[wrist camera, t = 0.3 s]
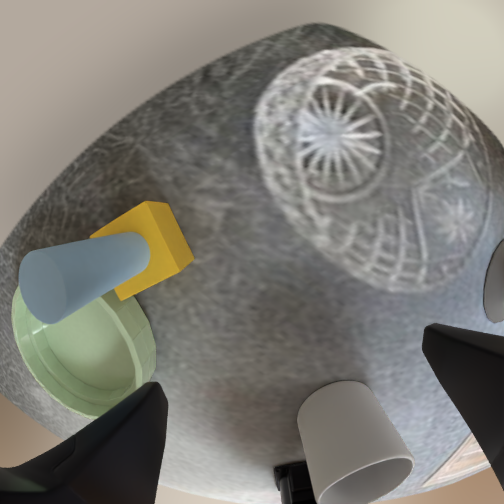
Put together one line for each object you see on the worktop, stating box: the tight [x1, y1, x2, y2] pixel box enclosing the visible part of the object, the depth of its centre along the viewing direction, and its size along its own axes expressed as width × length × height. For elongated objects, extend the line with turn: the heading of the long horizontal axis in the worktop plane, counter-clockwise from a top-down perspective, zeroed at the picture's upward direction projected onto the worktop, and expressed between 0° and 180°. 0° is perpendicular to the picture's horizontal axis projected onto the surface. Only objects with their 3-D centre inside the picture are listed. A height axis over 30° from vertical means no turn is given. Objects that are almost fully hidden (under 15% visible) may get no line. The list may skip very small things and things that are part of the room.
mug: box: [297, 381, 415, 504], centre depth 19 cm, size 12×8×11 cm
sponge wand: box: [19, 201, 195, 324], centre depth 14 cm, size 5×5×14 cm
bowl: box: [11, 284, 156, 420], centre depth 20 cm, size 15×15×4 cm
